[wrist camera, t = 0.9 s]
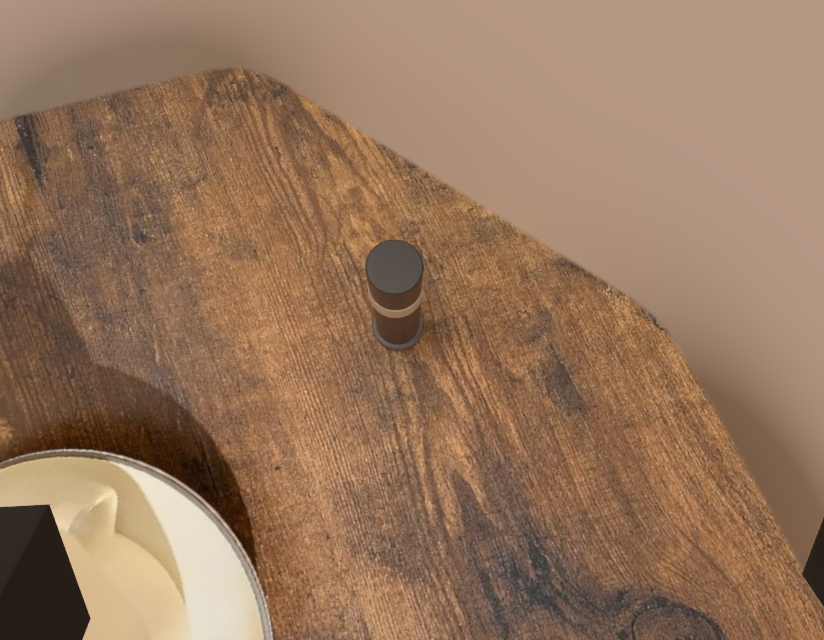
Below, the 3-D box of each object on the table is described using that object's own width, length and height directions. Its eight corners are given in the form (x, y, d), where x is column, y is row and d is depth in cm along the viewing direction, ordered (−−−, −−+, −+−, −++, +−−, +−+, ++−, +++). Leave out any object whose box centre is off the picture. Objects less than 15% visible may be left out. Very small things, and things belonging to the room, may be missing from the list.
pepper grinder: (419, 299, 37) (424, 230, 27) (426, 347, 36) (433, 295, 26) (370, 305, 37) (356, 238, 27) (375, 353, 36) (363, 303, 26)
